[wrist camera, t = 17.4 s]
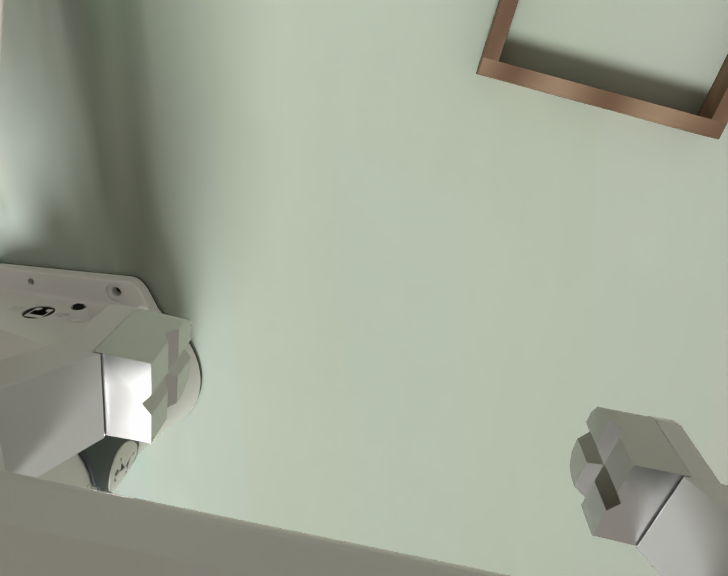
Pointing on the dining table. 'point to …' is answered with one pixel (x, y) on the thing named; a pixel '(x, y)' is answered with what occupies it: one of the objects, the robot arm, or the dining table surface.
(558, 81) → the walnut frame
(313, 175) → the dining table surface
